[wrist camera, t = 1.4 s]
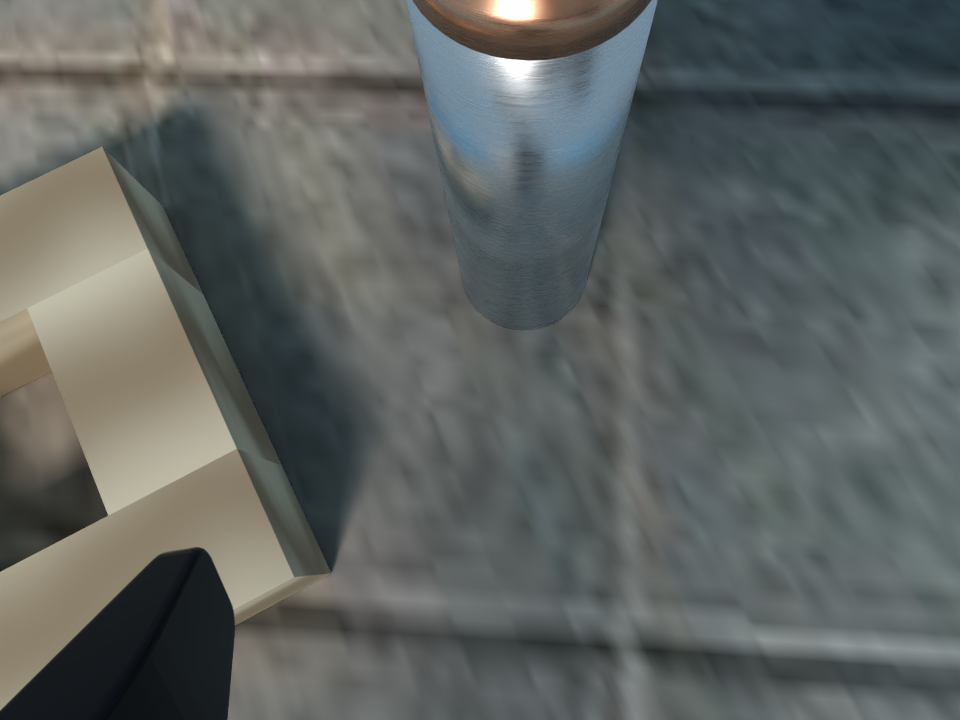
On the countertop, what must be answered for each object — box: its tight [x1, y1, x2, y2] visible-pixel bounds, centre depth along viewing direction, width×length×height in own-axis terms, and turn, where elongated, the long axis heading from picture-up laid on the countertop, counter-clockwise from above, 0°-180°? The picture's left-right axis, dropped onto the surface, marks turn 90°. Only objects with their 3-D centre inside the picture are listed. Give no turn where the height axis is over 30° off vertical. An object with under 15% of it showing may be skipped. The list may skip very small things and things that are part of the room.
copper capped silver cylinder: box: [406, 0, 658, 330], centre depth 16 cm, size 4×4×13 cm
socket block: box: [0, 147, 331, 710], centre depth 20 cm, size 12×12×4 cm
